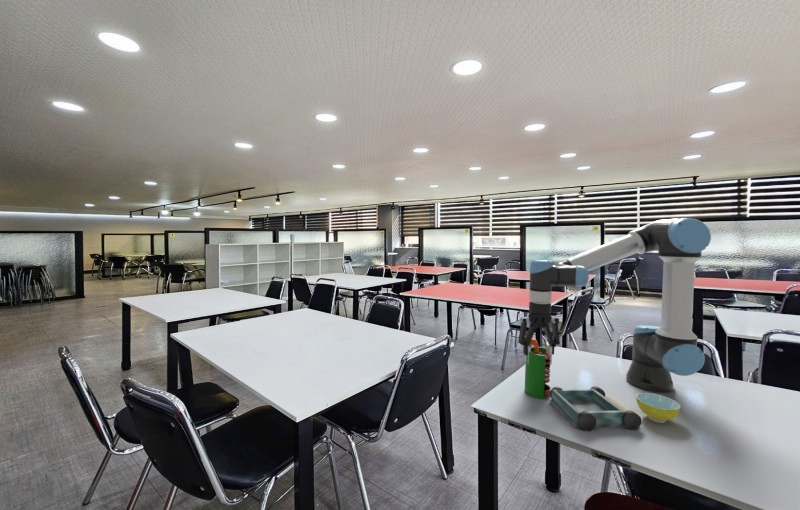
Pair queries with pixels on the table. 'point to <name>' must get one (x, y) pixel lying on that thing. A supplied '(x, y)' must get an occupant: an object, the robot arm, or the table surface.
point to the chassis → (592, 409)
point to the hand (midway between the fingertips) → (538, 363)
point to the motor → (537, 371)
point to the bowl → (658, 407)
